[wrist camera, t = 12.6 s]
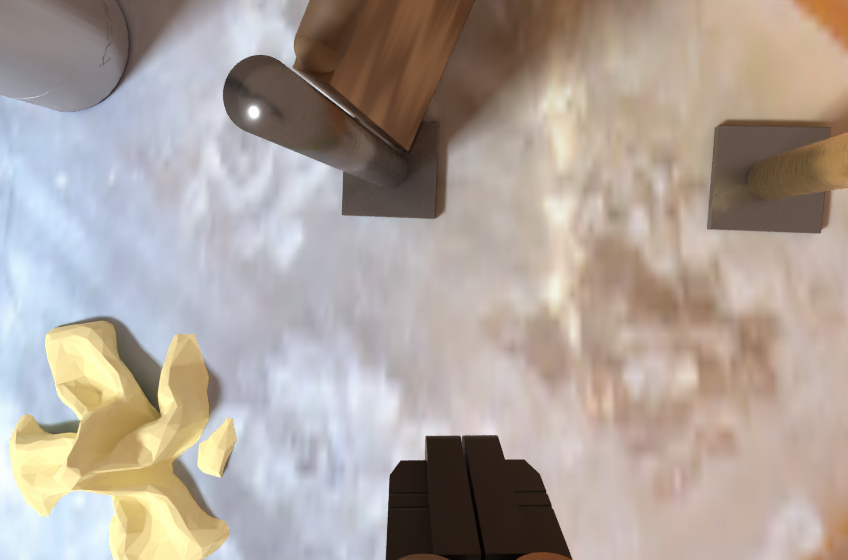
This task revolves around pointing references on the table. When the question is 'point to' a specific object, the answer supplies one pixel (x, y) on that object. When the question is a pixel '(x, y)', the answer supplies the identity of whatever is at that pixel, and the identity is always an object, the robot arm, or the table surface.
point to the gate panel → (380, 57)
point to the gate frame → (417, 168)
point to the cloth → (126, 444)
